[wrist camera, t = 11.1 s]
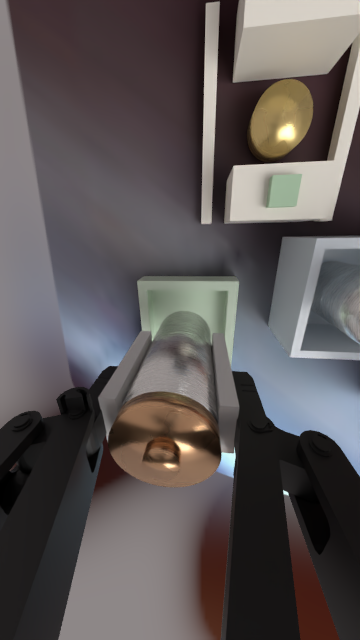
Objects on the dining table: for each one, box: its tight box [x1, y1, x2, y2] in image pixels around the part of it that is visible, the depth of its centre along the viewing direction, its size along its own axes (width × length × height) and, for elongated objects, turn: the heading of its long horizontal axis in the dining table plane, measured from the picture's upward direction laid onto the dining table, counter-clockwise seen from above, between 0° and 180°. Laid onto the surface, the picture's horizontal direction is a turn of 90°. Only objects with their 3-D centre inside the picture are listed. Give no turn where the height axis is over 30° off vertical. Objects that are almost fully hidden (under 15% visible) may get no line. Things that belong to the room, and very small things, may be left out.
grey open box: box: [268, 235, 360, 360], centre depth 16 cm, size 8×8×6 cm
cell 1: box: [108, 311, 221, 487], centre depth 12 cm, size 4×4×11 cm
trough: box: [137, 276, 239, 366], centre depth 21 cm, size 14×9×2 cm, turn 1°
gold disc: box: [247, 79, 313, 162], centre depth 13 cm, size 4×4×2 cm
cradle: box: [201, 0, 360, 224], centre depth 12 cm, size 12×10×5 cm
